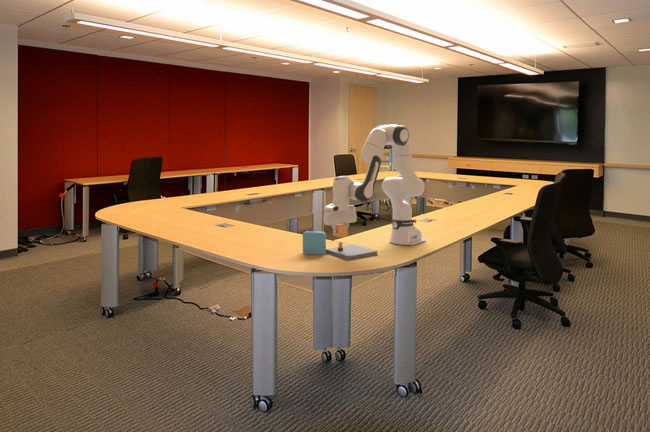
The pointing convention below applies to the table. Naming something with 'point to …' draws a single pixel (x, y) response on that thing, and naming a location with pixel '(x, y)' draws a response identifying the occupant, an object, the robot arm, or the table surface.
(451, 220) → the table surface
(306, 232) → the data package
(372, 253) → the board
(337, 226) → the orange cube
